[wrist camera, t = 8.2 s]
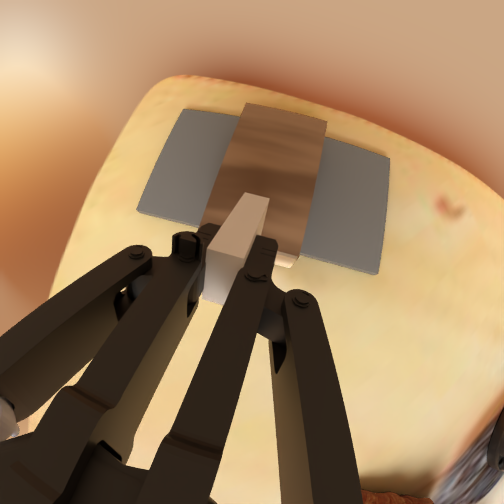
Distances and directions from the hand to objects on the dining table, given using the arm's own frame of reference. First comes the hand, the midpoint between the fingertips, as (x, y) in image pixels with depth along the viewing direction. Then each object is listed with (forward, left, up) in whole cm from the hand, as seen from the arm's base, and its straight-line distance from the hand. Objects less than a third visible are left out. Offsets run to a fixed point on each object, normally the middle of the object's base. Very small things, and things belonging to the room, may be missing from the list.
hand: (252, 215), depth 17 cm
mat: (+6, 0, -7) cm, 9 cm away
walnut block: (-1, 0, -4) cm, 4 cm away
